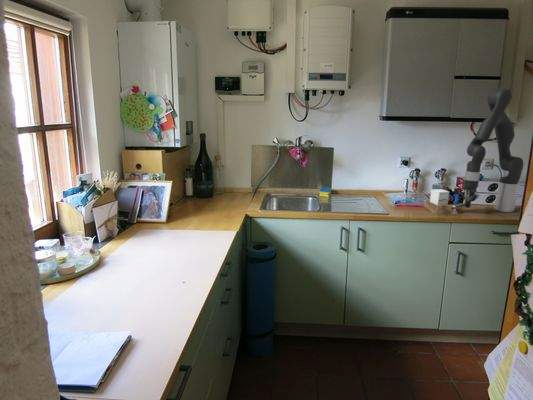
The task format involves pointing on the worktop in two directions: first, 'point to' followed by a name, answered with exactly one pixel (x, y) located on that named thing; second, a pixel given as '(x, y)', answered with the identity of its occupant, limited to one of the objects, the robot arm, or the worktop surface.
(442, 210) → the keeper
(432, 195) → the supplement box
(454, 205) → the latch bar
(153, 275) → the worktop surface
